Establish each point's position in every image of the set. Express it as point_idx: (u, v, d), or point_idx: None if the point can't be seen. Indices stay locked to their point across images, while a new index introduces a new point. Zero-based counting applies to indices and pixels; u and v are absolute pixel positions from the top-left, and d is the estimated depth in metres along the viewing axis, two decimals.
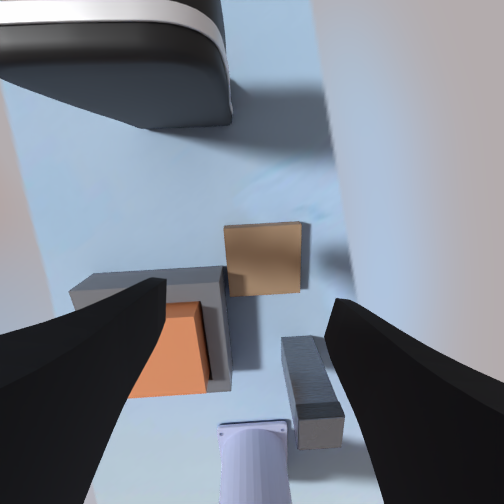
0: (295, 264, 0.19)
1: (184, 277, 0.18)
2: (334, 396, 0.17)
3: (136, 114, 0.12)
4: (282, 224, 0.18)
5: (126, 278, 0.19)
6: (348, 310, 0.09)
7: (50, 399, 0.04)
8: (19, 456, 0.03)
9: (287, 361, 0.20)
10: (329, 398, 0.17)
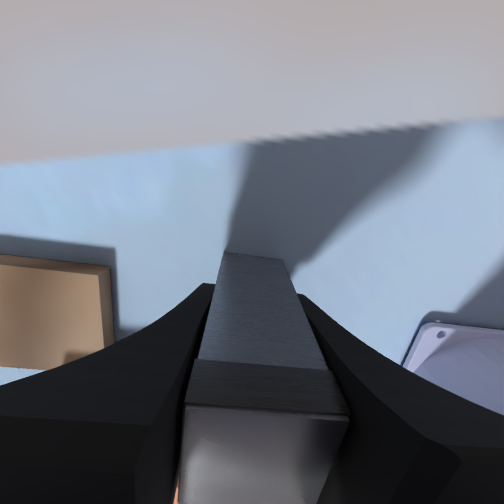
0: (37, 277, 0.11)
1: None
2: None
3: None
4: None
5: None
6: None
7: (175, 408, 0.04)
8: (162, 463, 0.04)
9: None
10: None
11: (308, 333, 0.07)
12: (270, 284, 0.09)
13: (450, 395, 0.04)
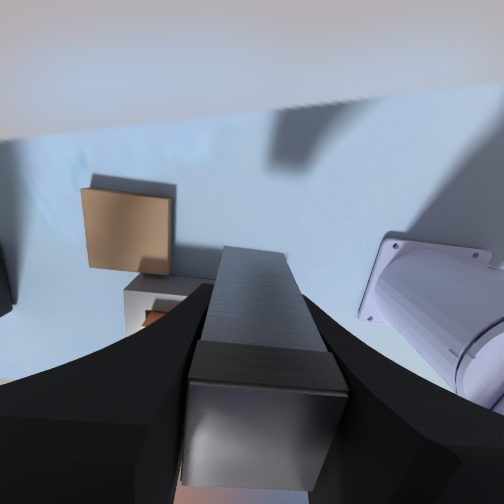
0: (130, 200, 0.17)
1: None
2: None
3: None
4: None
5: None
6: None
7: (174, 408, 0.04)
8: (162, 463, 0.04)
9: None
10: None
11: (308, 319, 0.07)
12: (271, 275, 0.09)
13: (450, 395, 0.04)
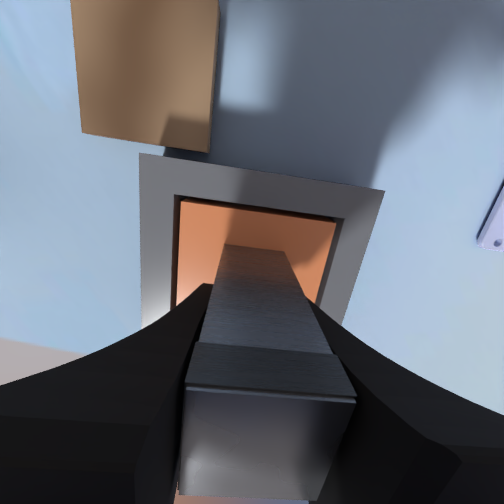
0: None
1: None
2: None
3: None
4: None
5: None
6: None
7: (174, 408, 0.04)
8: (162, 463, 0.04)
9: None
10: None
11: (311, 319, 0.06)
12: (272, 273, 0.09)
13: (450, 395, 0.04)
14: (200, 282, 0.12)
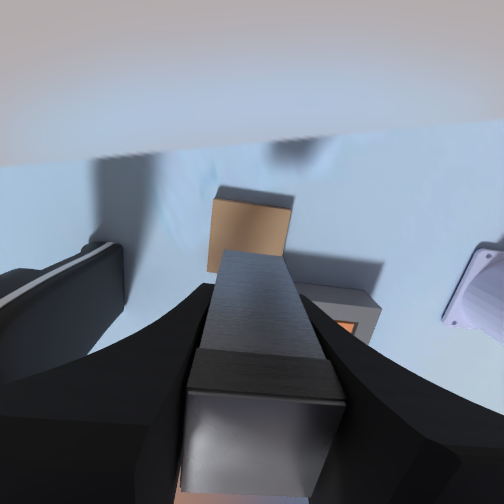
0: (256, 211, 0.18)
1: None
2: (202, 340, 0.06)
3: (92, 326, 0.16)
4: (212, 217, 0.18)
5: None
6: None
7: (175, 408, 0.04)
8: (162, 463, 0.04)
9: None
10: None
11: (307, 325, 0.07)
12: (270, 279, 0.09)
13: (450, 395, 0.04)
14: None
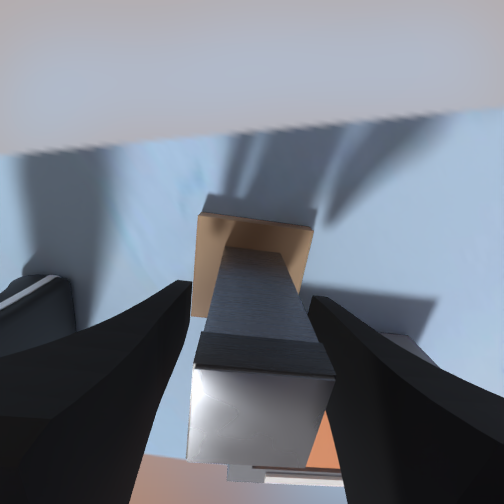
0: (262, 232, 0.12)
1: None
2: None
3: None
4: None
5: None
6: (322, 307, 0.09)
7: (113, 404, 0.04)
8: (92, 460, 0.03)
9: None
10: None
11: (302, 314, 0.07)
12: (269, 273, 0.10)
13: (501, 399, 0.04)
14: None
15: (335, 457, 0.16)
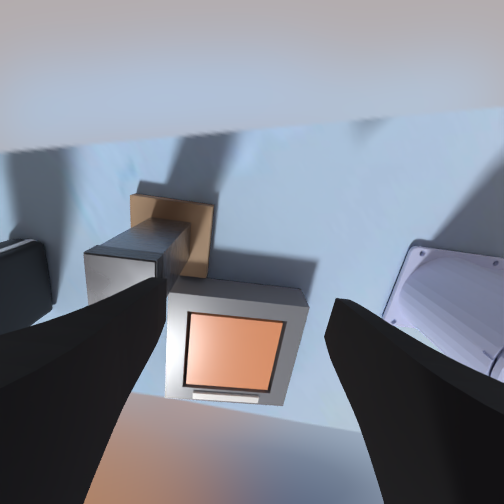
0: (176, 207, 0.17)
1: None
2: (103, 245, 0.12)
3: None
4: None
5: None
6: (348, 310, 0.09)
7: (50, 399, 0.04)
8: (19, 456, 0.03)
9: None
10: None
11: (167, 245, 0.13)
12: (167, 230, 0.15)
13: None
14: (202, 355, 0.20)
15: (245, 378, 0.21)
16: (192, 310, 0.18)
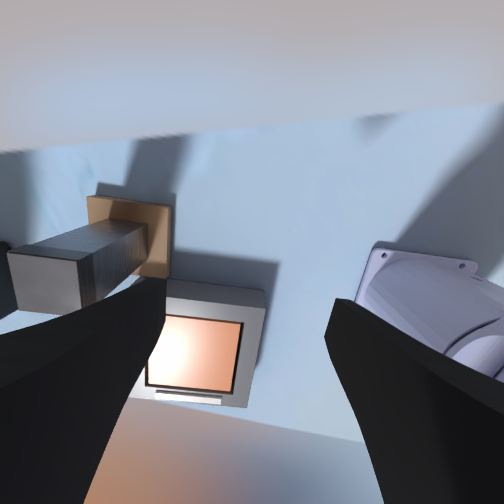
0: (132, 208, 0.18)
1: None
2: (36, 245, 0.12)
3: None
4: None
5: None
6: (348, 310, 0.09)
7: (50, 399, 0.04)
8: (19, 456, 0.03)
9: None
10: None
11: (103, 245, 0.13)
12: (116, 230, 0.15)
13: None
14: (162, 355, 0.20)
15: (206, 379, 0.21)
16: None
